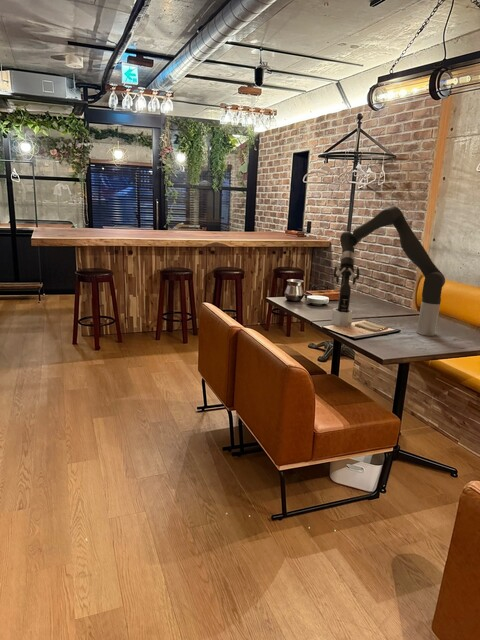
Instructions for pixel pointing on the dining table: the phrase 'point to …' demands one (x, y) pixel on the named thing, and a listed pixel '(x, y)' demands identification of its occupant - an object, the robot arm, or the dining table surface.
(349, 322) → the wooden sleeve
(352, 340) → the dining table surface
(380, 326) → the oak board
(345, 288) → the wine bottle
